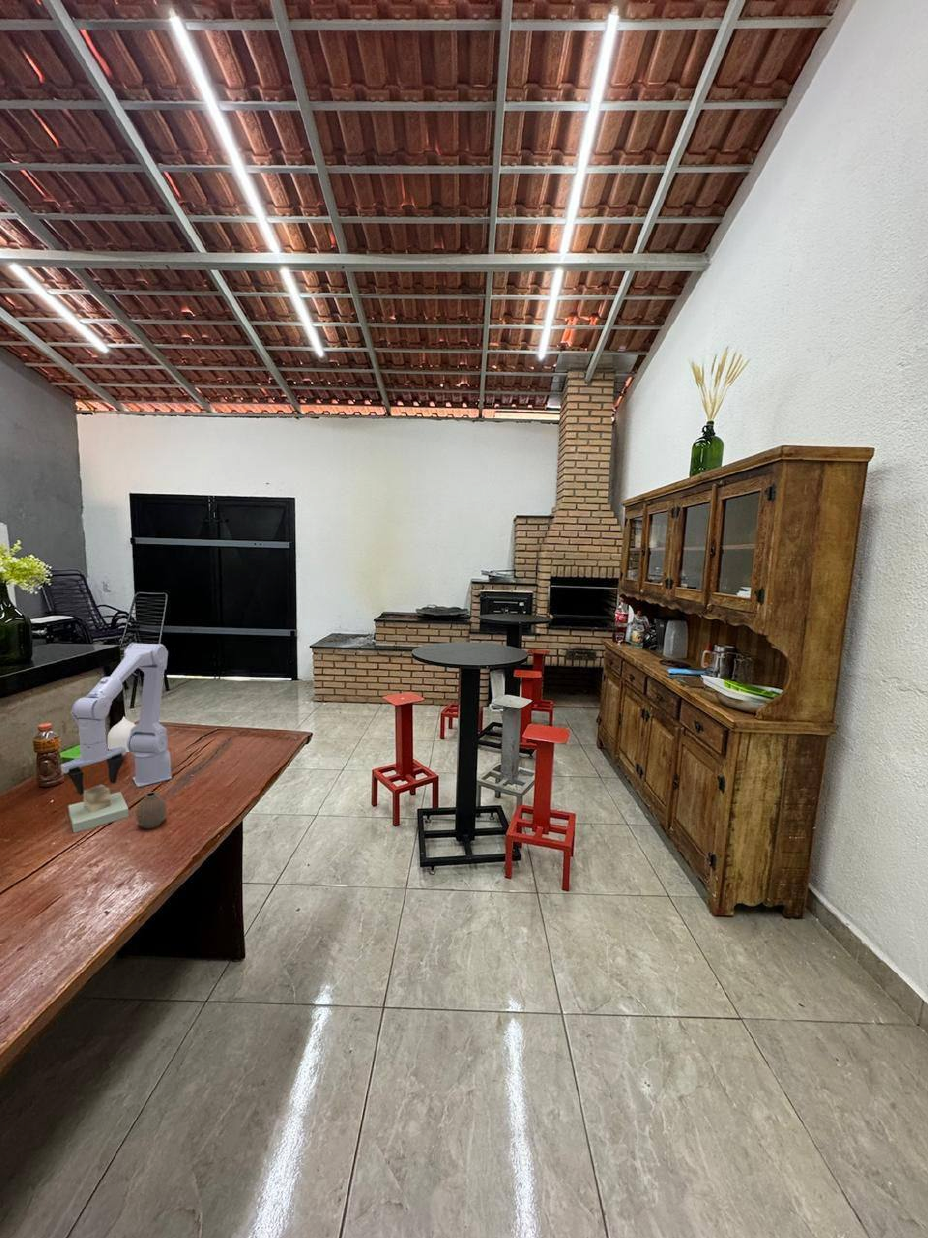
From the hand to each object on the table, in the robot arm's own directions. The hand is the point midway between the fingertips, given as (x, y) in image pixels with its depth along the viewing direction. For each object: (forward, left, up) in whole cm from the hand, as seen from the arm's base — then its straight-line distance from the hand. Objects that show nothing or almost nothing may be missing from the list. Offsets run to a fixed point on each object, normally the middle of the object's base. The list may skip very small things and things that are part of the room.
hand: (97, 787), depth 134 cm
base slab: (0, 0, -8) cm, 8 cm away
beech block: (0, 0, -6) cm, 6 cm away
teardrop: (-14, -49, -9) cm, 52 cm away
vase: (-10, +14, -9) cm, 19 cm away
